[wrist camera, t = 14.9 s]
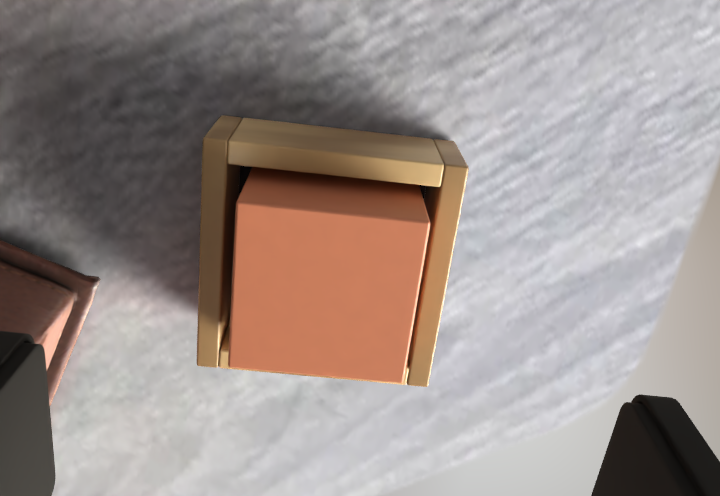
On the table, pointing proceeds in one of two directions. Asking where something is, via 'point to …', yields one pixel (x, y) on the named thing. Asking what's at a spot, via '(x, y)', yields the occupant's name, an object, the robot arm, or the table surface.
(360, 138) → the tan wooden square frame
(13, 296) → the desk organizer
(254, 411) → the table surface
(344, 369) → the orange cube
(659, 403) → the robot arm
